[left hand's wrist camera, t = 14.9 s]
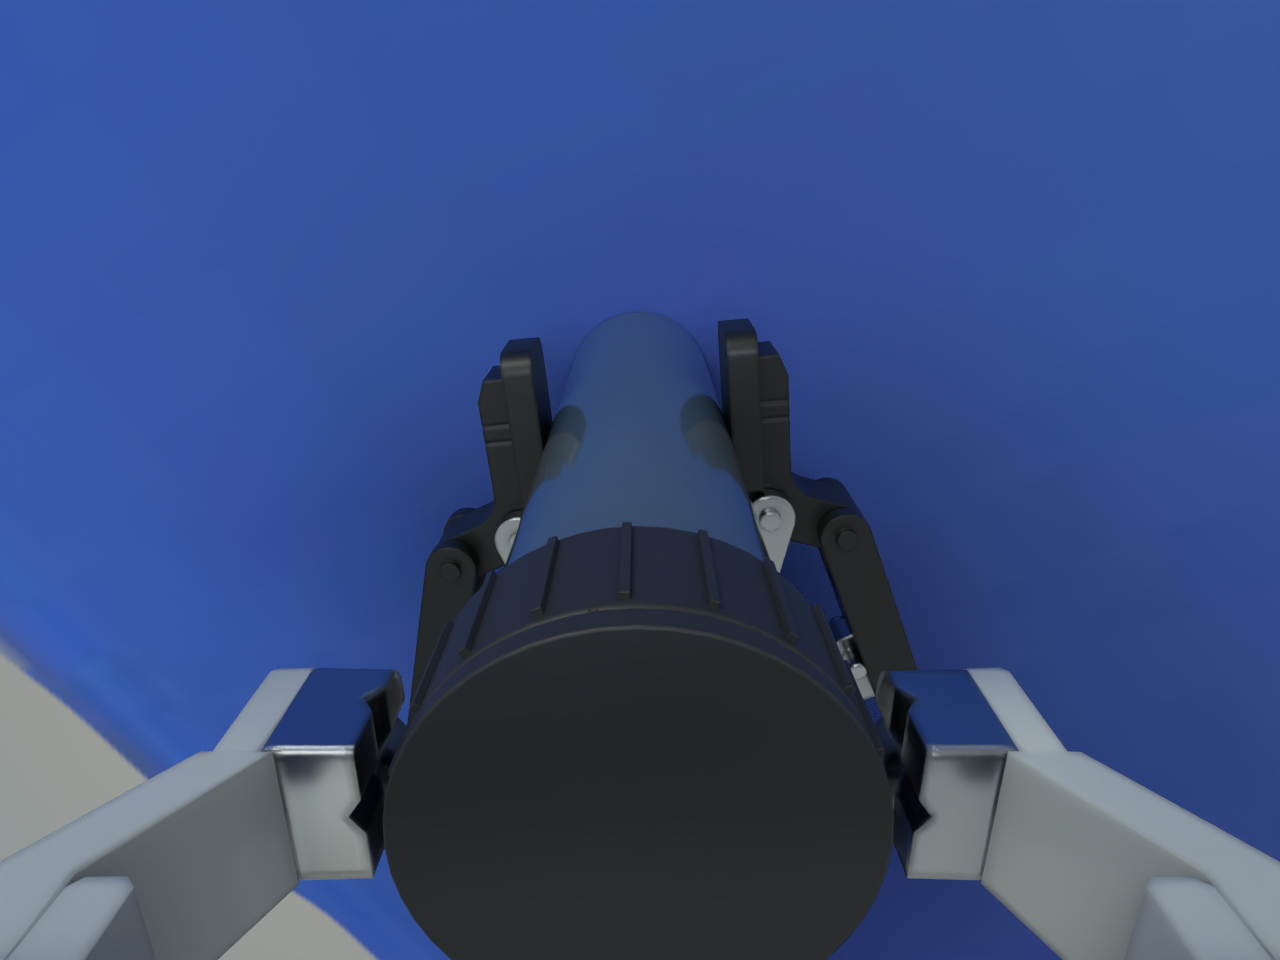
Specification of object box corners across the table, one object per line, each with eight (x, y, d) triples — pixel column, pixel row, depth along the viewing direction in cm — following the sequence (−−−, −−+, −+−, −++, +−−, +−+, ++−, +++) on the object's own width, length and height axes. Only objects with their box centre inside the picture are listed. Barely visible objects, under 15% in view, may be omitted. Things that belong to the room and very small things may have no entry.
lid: (640, 927, 12) (640, 1093, 10) (342, 711, 10) (266, 850, 8) (933, 708, 10) (1008, 846, 8) (634, 426, 9) (631, 507, 7)
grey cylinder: (554, 421, 27) (397, 900, 9) (594, 292, 25) (495, 578, 8) (680, 461, 27) (753, 985, 10) (727, 337, 26) (907, 698, 8)
